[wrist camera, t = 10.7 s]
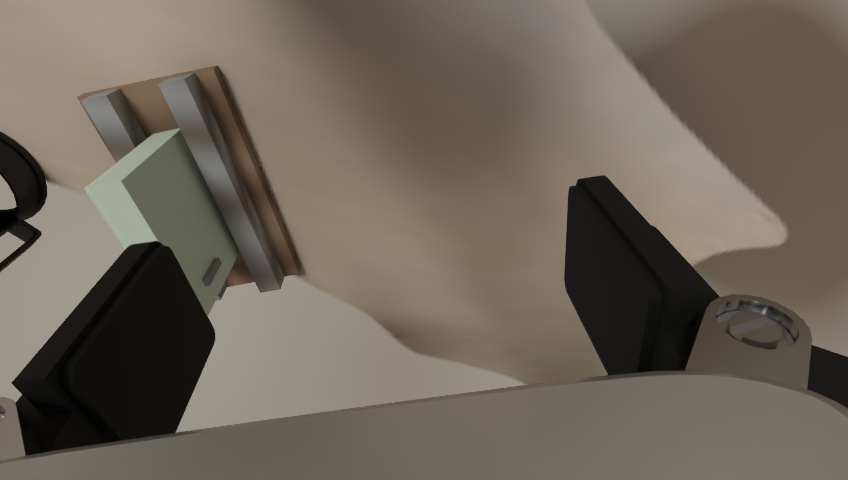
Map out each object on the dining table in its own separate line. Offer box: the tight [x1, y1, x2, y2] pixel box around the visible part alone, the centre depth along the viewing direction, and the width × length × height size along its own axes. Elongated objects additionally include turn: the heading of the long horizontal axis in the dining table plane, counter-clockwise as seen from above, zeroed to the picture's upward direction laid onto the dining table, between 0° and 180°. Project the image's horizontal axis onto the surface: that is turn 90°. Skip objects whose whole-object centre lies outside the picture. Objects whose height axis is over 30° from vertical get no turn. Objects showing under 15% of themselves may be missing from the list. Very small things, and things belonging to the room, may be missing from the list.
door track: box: [77, 66, 301, 301], centre depth 40 cm, size 20×11×3 cm, turn 10°
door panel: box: [84, 128, 240, 317], centre depth 36 cm, size 12×3×10 cm, turn 11°
